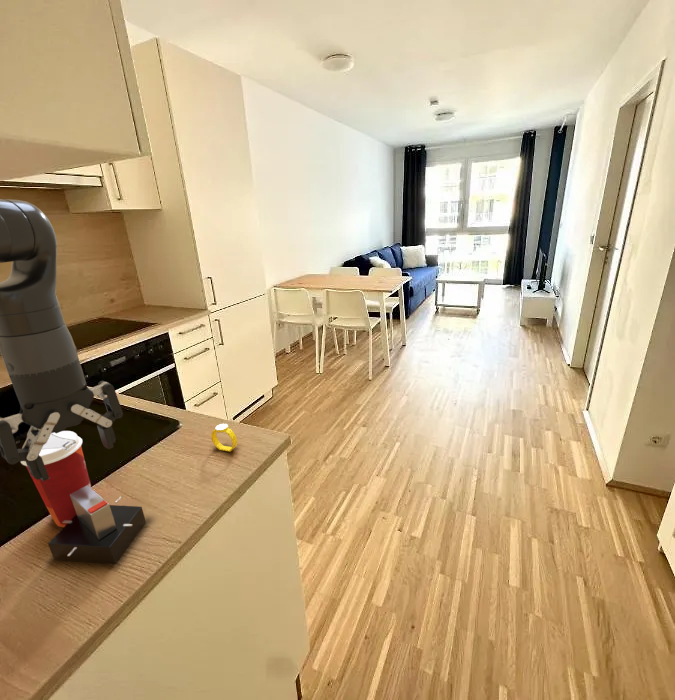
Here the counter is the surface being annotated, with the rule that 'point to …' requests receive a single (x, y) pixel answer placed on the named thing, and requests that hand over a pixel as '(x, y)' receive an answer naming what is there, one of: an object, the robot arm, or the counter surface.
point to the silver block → (93, 512)
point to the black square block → (85, 546)
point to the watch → (225, 428)
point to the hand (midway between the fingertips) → (78, 461)
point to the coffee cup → (62, 474)
